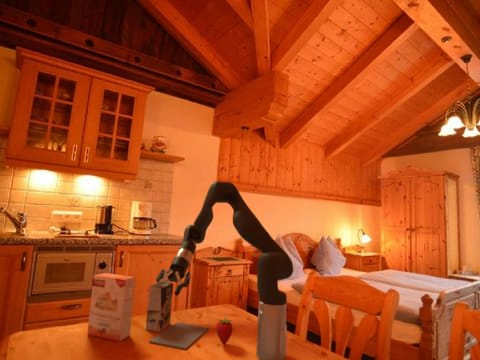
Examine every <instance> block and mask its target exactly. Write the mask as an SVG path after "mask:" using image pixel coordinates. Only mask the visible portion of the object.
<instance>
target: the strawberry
mask: <svg viewBox="0 0 480 360" xmlns="http://www.w3.org/2000/svg"><path fill="white" fill-rule="evenodd" d="M223 317H224V318H223V319H217V321H218V323H217V324H216V327H215V329H216V330H215V331H216V334H217V337H218V338H219V340H220V342H221V344H222V345H224V346H226V344H227V343H228V341H230V340H229V339H230V338H231V336H232V334H233V331H234V327H233V324H232V322H231V321H232V320H231V319H227V318H226V316H225V315H223Z"/></svg>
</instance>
